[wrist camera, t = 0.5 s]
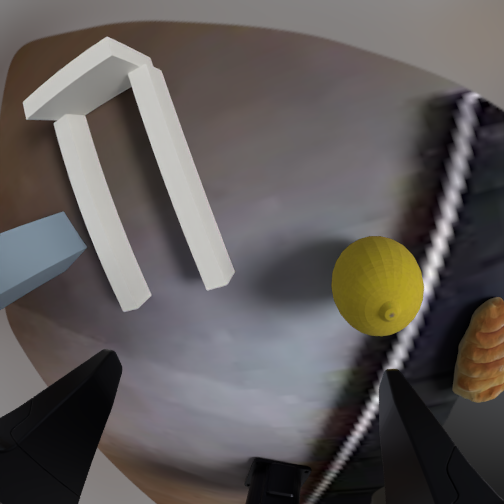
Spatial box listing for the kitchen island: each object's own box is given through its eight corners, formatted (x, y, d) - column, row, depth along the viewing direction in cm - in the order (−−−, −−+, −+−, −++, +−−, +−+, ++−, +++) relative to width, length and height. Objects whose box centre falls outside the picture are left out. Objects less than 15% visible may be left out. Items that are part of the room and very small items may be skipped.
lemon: (335, 304, 23) (344, 369, 16) (321, 233, 22) (328, 274, 15) (405, 289, 22) (441, 347, 15) (396, 216, 21) (439, 250, 13)
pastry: (453, 304, 22) (472, 327, 18) (515, 285, 21) (538, 303, 17) (448, 389, 24) (460, 415, 21) (504, 369, 23) (520, 391, 19)
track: (234, 271, 24) (212, 308, 18) (137, 299, 26) (100, 333, 20) (155, 54, 20) (113, 32, 14) (68, 109, 22) (18, 105, 16)
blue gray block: (87, 247, 26) (-27, 310, 13) (65, 270, 27) (-37, 334, 14) (63, 211, 25) (-55, 255, 13) (43, 236, 26) (-63, 286, 14)
